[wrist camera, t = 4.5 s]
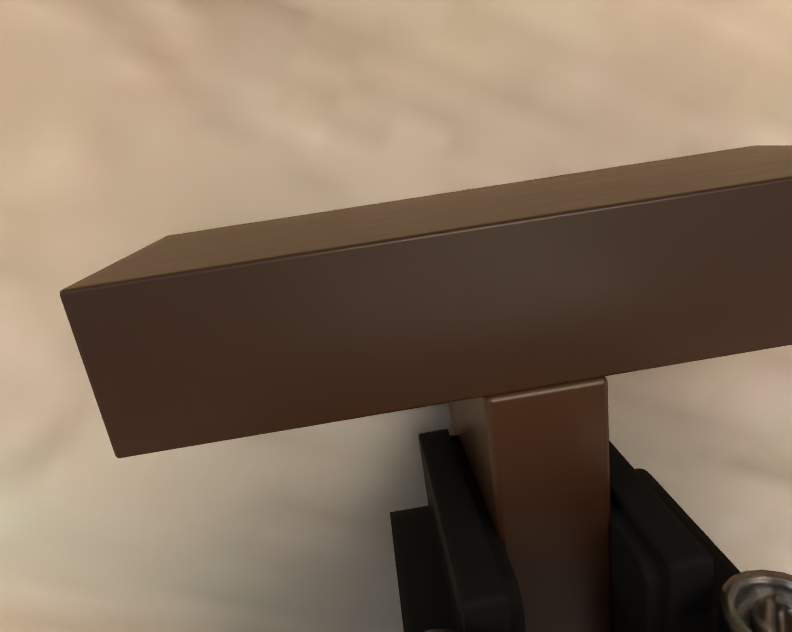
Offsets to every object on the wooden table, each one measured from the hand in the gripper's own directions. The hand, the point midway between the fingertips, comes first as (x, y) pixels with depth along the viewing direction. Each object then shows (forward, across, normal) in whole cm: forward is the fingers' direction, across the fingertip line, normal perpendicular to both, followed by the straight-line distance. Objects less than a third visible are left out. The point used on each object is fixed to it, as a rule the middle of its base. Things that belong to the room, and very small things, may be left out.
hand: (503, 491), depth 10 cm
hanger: (+1, 0, +3) cm, 3 cm away
